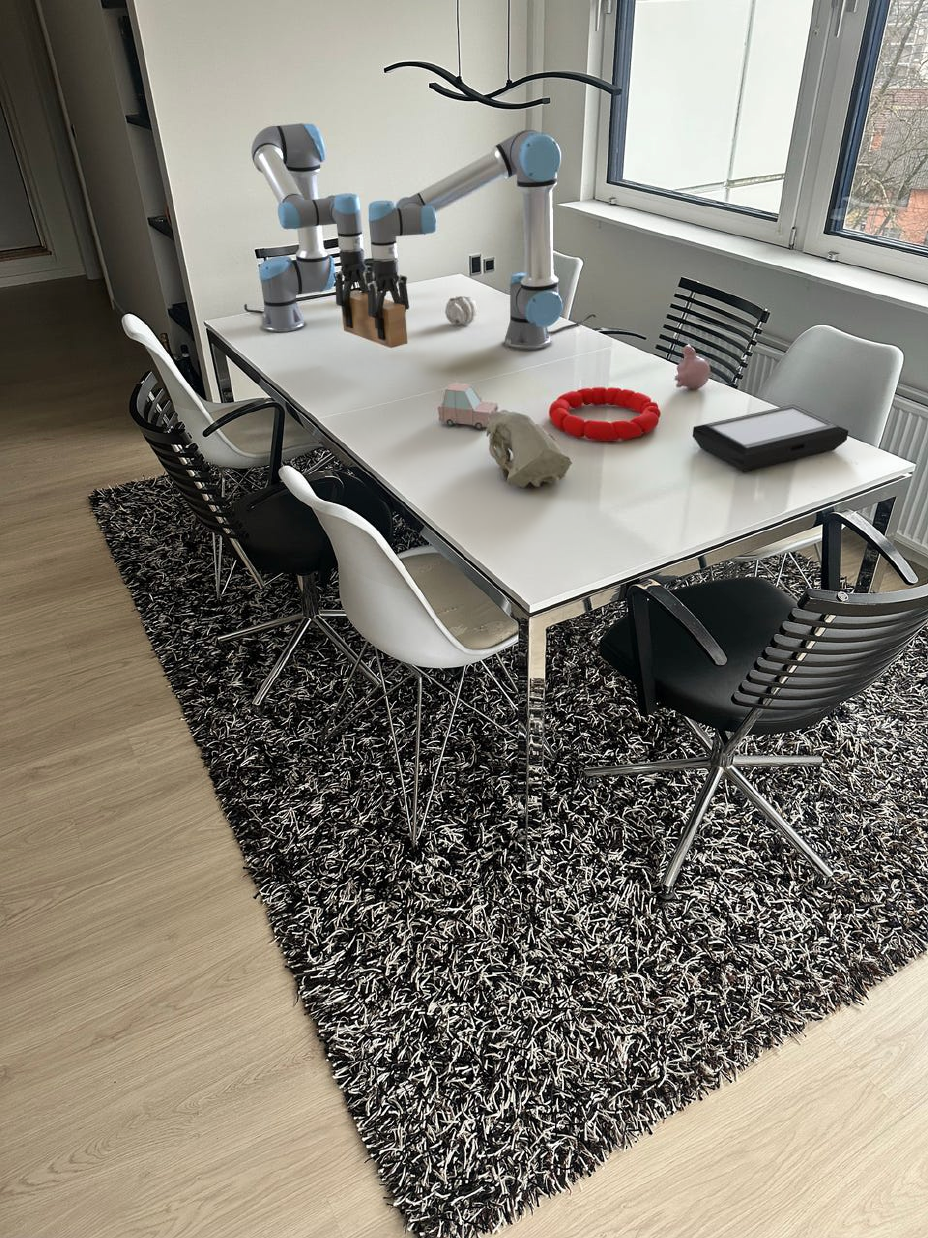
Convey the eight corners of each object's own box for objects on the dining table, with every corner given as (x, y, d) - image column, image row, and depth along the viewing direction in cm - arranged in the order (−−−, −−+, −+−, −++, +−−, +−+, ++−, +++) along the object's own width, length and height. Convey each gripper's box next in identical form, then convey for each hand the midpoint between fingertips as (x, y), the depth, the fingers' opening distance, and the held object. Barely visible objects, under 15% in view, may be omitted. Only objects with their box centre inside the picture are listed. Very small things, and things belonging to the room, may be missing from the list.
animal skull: (496, 517, 219) (521, 479, 201) (463, 429, 225) (484, 384, 207) (557, 503, 225) (586, 465, 206) (523, 417, 231) (549, 373, 212)
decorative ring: (589, 435, 224) (684, 402, 234) (527, 398, 247) (617, 369, 256) (589, 461, 229) (683, 427, 238) (529, 422, 251) (617, 393, 260)
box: (343, 330, 290) (340, 293, 284) (359, 326, 294) (356, 289, 287) (391, 348, 274) (388, 309, 267) (407, 343, 277) (405, 305, 271)
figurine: (665, 387, 264) (669, 347, 257) (693, 380, 268) (698, 340, 261) (686, 396, 257) (690, 355, 250) (714, 388, 262) (720, 348, 255)
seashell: (437, 324, 323) (436, 295, 317) (473, 317, 329) (473, 289, 323) (451, 331, 315) (450, 302, 310) (487, 324, 321) (487, 295, 316)
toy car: (488, 432, 240) (488, 396, 234) (436, 426, 244) (434, 390, 239) (499, 419, 247) (499, 384, 241) (448, 413, 252) (447, 379, 246)
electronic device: (745, 452, 210) (694, 423, 225) (741, 476, 213) (691, 446, 228) (849, 427, 220) (793, 401, 235) (844, 450, 224) (789, 423, 239)
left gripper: (331, 256, 268) (340, 333, 281) (383, 245, 278) (389, 320, 291) (318, 252, 273) (327, 328, 286) (370, 242, 283) (376, 316, 296)
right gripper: (365, 266, 257) (372, 346, 270) (418, 254, 267) (422, 332, 280) (350, 262, 261) (358, 340, 274) (403, 250, 271) (408, 327, 284)
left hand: (358, 324), depth 288 cm, fingers closed on box, 6 cm apart
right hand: (390, 336), depth 277 cm, fingers closed on box, 6 cm apart
